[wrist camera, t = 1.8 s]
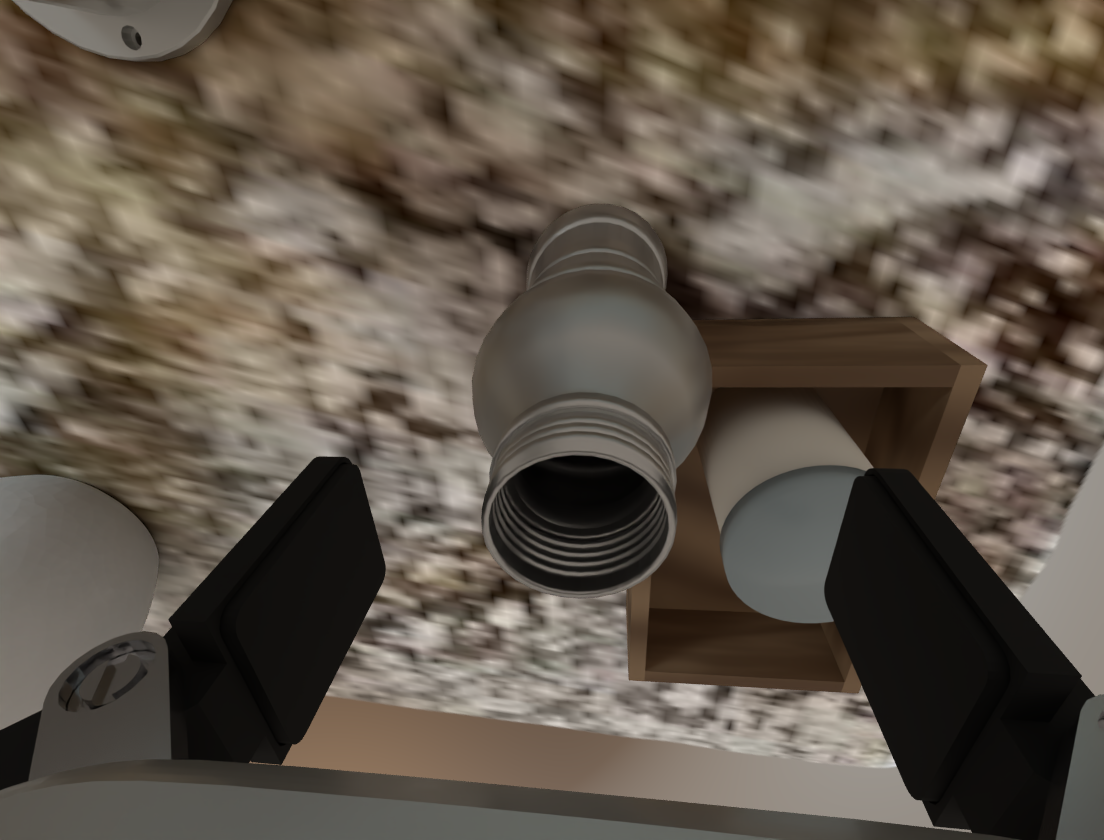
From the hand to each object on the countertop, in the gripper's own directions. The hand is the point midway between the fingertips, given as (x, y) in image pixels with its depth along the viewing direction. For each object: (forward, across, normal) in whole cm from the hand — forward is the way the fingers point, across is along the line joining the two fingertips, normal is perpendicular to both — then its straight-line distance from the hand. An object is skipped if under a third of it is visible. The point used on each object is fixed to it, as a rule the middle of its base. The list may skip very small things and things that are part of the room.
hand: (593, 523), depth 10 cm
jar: (+19, -8, +9) cm, 22 cm away
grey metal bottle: (+20, +1, 0) cm, 20 cm away
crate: (+20, -8, +14) cm, 25 cm away
